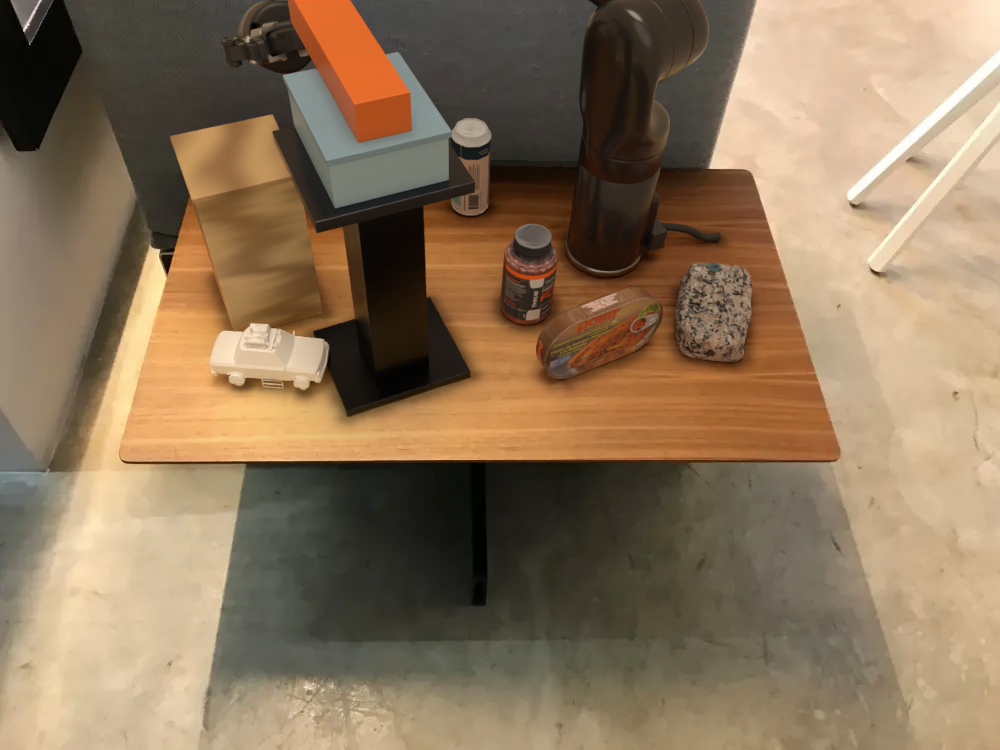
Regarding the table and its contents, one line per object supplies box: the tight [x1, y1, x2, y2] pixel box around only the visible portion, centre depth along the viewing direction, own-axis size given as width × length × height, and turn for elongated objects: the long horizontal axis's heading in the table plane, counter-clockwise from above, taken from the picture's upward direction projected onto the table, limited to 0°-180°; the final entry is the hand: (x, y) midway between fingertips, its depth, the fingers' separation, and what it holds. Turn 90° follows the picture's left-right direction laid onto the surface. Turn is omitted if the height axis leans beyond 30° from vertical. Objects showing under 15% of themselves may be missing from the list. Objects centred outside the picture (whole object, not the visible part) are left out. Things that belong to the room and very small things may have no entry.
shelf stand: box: [272, 125, 475, 418], centre depth 84 cm, size 14×13×27 cm
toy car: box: [208, 323, 329, 391], centre depth 90 cm, size 6×12×7 cm, turn 87°
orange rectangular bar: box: [288, 0, 412, 143], centre depth 71 cm, size 4×19×4 cm, turn 24°
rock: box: [674, 262, 753, 363], centre depth 98 cm, size 13×9×4 cm
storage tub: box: [282, 51, 452, 208], centre depth 72 cm, size 10×12×5 cm
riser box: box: [169, 114, 324, 332], centre depth 92 cm, size 10×10×20 cm
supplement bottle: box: [500, 223, 559, 325], centre depth 95 cm, size 6×6×11 cm
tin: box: [535, 285, 664, 380], centre depth 92 cm, size 15×3×8 cm, turn 117°
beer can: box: [450, 117, 492, 216], centre depth 106 cm, size 5×5×12 cm
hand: (306, 42), depth 84 cm, fingers open, 8 cm apart
